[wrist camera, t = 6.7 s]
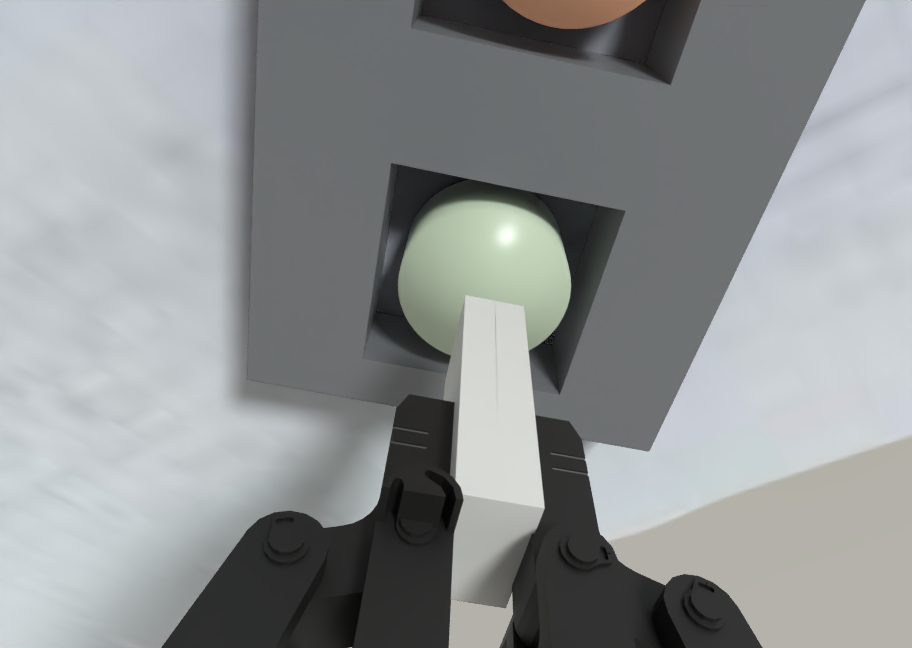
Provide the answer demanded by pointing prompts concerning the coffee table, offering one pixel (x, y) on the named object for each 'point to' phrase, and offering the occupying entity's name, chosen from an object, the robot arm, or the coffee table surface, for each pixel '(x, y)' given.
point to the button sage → (483, 260)
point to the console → (522, 184)
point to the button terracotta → (572, 11)
